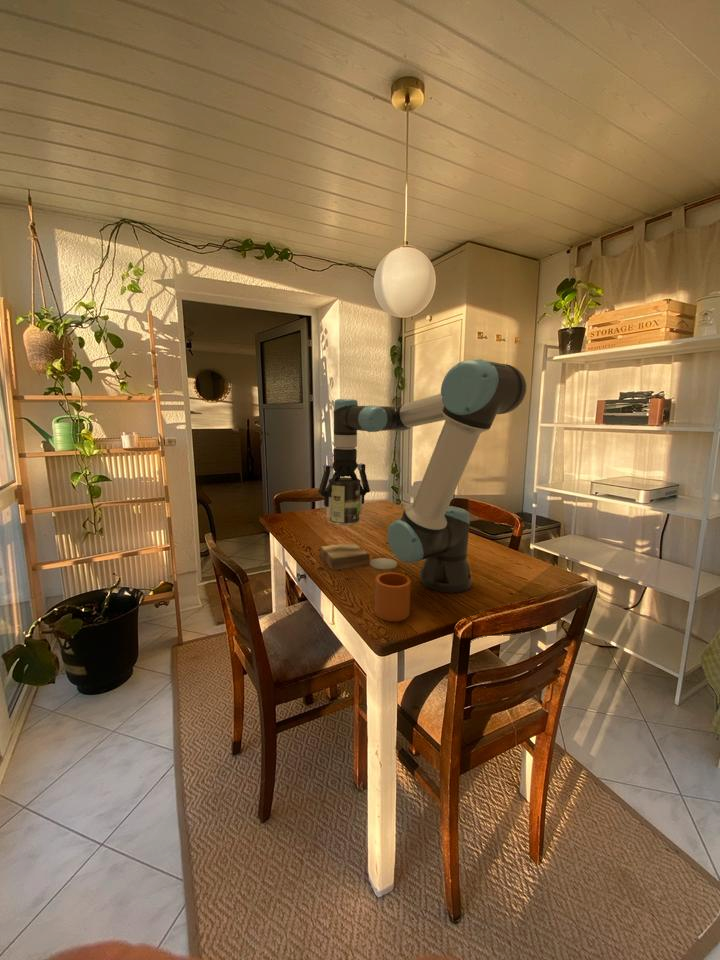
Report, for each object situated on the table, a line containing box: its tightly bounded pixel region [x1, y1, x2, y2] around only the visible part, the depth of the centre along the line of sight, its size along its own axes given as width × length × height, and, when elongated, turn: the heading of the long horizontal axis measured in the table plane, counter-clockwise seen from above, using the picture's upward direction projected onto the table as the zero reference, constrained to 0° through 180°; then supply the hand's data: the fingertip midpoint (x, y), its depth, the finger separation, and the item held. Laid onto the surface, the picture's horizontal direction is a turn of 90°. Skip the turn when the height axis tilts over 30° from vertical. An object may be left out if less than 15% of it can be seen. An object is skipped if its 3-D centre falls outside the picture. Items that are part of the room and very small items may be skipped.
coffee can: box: [328, 476, 361, 526], centre depth 131 cm, size 10×10×14 cm
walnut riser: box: [319, 542, 371, 571], centre depth 135 cm, size 13×13×4 cm
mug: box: [373, 571, 412, 622], centre depth 102 cm, size 9×12×9 cm
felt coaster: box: [369, 557, 398, 571], centre depth 132 cm, size 9×9×1 cm
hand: (344, 514), depth 132 cm, fingers closed on coffee can, 10 cm apart
